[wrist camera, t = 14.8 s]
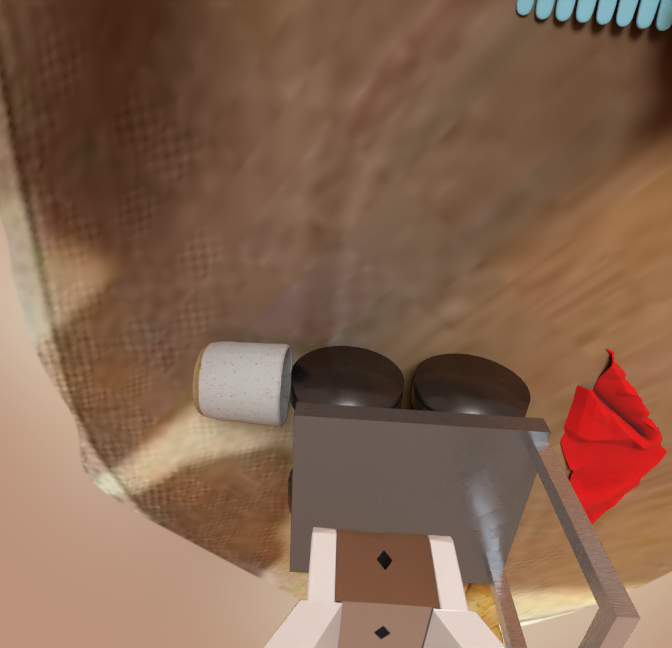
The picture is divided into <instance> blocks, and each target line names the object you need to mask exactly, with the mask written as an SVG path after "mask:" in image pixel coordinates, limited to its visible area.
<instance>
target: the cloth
mask: <svg viewBox="0 0 672 648" xmlns="http://www.w3.org/2000/svg"><path fill="white" fill-rule="evenodd" d="M606 350H607V351H608V353H609V354H610V355H611V357H612V363H611V367H610V368H609V369H607V370H606V371H605V372H604V373H603V374H602V375H601V376H600V377H599V378H598V380H597V382H596V384H595V387H594V389H593V390H589V389H586V388H584V387H581V386H577V388H576V392H575V395H574V400H573V403H572V406H571V408H570V411H569V414H568V417H567V420H566V423H565V425H564V430H565V434H564V435H563V436H562V438H561V446H562V450H563V453H564V457H565V459H566V461H567V463H568V466H569V468H570V470H573V471H572V473H571V476H570V481H569V482H570V483H571V485H572V487H573V489H574V491H575V493H576V495H577V497H578V499H579V501H580V503H581V505H582V507H583V509H584V510H585V512H586V514H587V516H588V518H589V520H590V522H591V524H592V523H594V522H595V521H596V520H597V519H598V518H599V517H600V516H601V515H602V514H603V513H604V512H605V511H607V510H609V509H610V508H612V507H613V506H615V505H616V504H617V503H618V501H619V500H620V499H621V498H622V497H623V496H624V495H625V494H626V493H628V492H629V491H630V490H632V489H633V488H635V487H636V486H637V485H639V483H640V480H641V478H642V477H643V476H644V475H645V474H646V473H648V472H649V471H650V470H651V469H652V468H653V467H655V466H656V465H657V464H658V463H659V462H660V461H661V459H662V458H663V457H664V455H665V454H666V452H667V451H666V450H665V449H664V448H663V447H662V446H661V442H662V436H661V434H660V431H659V429H658V427H656V425H655V424H654V422H653V421H652V419H649V418H647V417H648V415H649V414H650V413H649V411H648V410H647V408H646V407H645V405H644V404H643V402H642V399H641V398H640V397H639V395H638V394H637V392H636V390H635V389H634V387H633V386H631V385H630V384H629V383H628V382H627V381H626V380H625V377H626V374H625V373H624V371H623V370H622V369H621V368H620V366H619V365H618V364H617V363H615V362H614V352H612V351H611V350H609V349H606Z"/></svg>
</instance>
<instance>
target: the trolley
mask: <svg viewBox="0 0 672 648" xmlns="http://www.w3.org/2000/svg"><path fill="white" fill-rule="evenodd" d="M403 388H404V377H403V374H402V372H401V370H400V369H399V368H398V367H397V366H396V365H395V364H394V363H393V362H392V361H391V360H389V359H388V358H386V357H385V356H383V355H381V354H378V353H376V352H373V351H370V350H367V349H363V348H358V347H350V346H333V347H326V348H321V349H317V350H314V351H311V352H309V353H307V354H305V355H304V356H302V357H301V358H300V359H299V360H297V362H296V363H295V364H294V366H293V368H292V371H291V403H292V406H293V408H294V410H295V414H294V444H293V468H292V470H291V472H290V476H289V483H288V504H289V509H290V512H291V548H290V572H303V573H309V565H310V553H311V540H312V532H313V527H321V528H334V529H336V530H337V529H345V530H356V531H367V532H377V533H381V532H392V533H412V534H426V535H437V536H450V537H451V538H452V540H453V542H454V546H455V551H456V555H457V560H458V564H459V569H460V574H461V578H462V583H473V584H489V585H490V589H491V592H492V596H493V600H494V604H495V608H496V611H497V615H498V619H499V623H500V626H501V630H502V634H503V638H504V642H505V645H506V648H527V646H526V642H525V639H524V636H523V633H522V629H521V626H520V622H519V619H518V616H517V612H516V609H515V606H514V602H513V599H512V596H511V592H510V589H509V586H508V582H507V579H506V576H505V572H504V570H503V568H504V565H505V563H506V560H507V557H508V554H509V551H510V548H511V545H512V542H513V540H514V537H515V534H516V531H517V528H518V525H519V522H520V520H521V517H522V514H523V511H524V508H525V505H526V502H527V500H528V497H529V494H530V491H531V488H532V485H533V482H534V479H535V477H536V474H537V472H538V474H539V476H540V478H541V481H542V483H543V485H544V487H545V489H546V492H547V494H548V496H549V498H550V500H551V503H552V505H553V507H554V509H555V511H556V514H557V516H558V518H559V520H560V522H561V525H562V527H563V529H564V531H565V533H566V536H567V538H568V540H569V542H570V545H571V547H572V549H573V551H574V553H575V556H576V558H577V560H578V562H579V564H580V567H581V569H582V571H583V573H584V575H585V578H586V580H587V582H588V584H589V586H590V589H591V591H592V593H593V595H594V598H595V600H596V602H597V604H598V606H599V609H598V612H597V613H596V615H595V617H594V619H593V621H592V623H591V625H590V627H589V629H588V631H587V633H586V635H585V636H584V638H583V640H582V642H581V644H580V646H579V648H623V646H624V644H625V643H626V642H627V640H628V638H629V637H630V634H631V633H632V632H633V630H634V628H635V626H636V625H637V623H638V621H639V620H640V617H639V615H638V613H637V611H636V609H635V607H634V605H633V603H632V601H631V599H630V598H629V595H628V593H627V592H626V590H625V588H624V586H623V584H622V582H621V580H620V578H619V576H618V574H617V572H616V570H615V568H614V566H613V565H612V563H611V561H610V559H609V557H608V555H607V553H606V551H605V549H604V547H603V545H602V543H601V541H600V539H599V538H598V536H597V534H596V532H595V530H594V528H593V526H592V524H591V522H590V520H589V518H588V516H587V514H586V512H585V510H584V509H583V507H582V505H581V503H580V501H579V499H578V497H577V495H576V493H575V491H574V489H573V487H572V485H571V483H570V482H569V480H568V478H567V476H566V474H565V472H564V470H563V468H562V466H561V464H560V462H559V460H558V458H557V456H556V455H555V453H554V451H553V449H552V447H551V445H550V443H549V442H548V439H549V436H550V434H551V432H550V430H549V428H548V426H547V424H546V422H545V421H544V419H542V418H527V417H525V415H526V412H527V409H528V406H529V402H530V392H529V390H528V387H527V386H526V384H525V383H524V382H523V381H522V379H521V378H520V377H518V376H517V375H516V374H515V373H514V372H512V371H511V370H509V369H508V368H506V367H504V366H502V365H500V364H498V363H496V362H493V361H491V360H488V359H485V358H481V357H477V356H472V355H466V354H443V355H438V356H434V357H431V358H429V359H426V360H425V361H423V362H422V363H421V364H420V365H419V366H418V367H417V369H416V372H415V378H414V384H413V390H412V396H411V401H412V405H413V407H414V410H407V409H400V407H401V401H402V394H403Z"/></svg>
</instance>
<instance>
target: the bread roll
mask: <svg viewBox="0 0 672 648" xmlns="http://www.w3.org/2000/svg"><path fill="white" fill-rule="evenodd" d="M463 587H464V592H465V597H466V601H467V606H468V610H469V611H475V612H477V614H478V615H479V616H480V617H481V618H482V620H483V621H484V622H485V623H486V624H487V626H488V627H489V628H490V629H491V630H492V632H493V633H494V634H495V635H496V636H497V638H498V639H499V640H500V641H501V642H502V644H503V639H502V635H501V632H500V628H499V626H498V625H499V619H498V615H497V611H496V608H495V604H494V600H493V596H492V592H491V589H490V585H489V584H473V583H463Z"/></svg>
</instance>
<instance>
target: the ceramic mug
mask: <svg viewBox="0 0 672 648" xmlns="http://www.w3.org/2000/svg"><path fill="white" fill-rule="evenodd" d="M291 371H292V352H291V348H290V346H289V345H288V344H271V343H249V342H230V341H222V342H214V343H209V344H207V345H206V346H205V347H204V348H203V349H202V350H201V352H200V353H199V356H198V358H197V361H196V365H195V368H194V375H193V386H192V387H193V400H194V404H195V407H196V409H197V411H198V412H199V413H200V414H202V415H204V416H206V417H210V418H214V419H218V420H227V421H239V422H247V423H254V424H262V425H269V426H282V425H283V424H284V422H285V420H286V416H287V411H288V405H289V399H290V391H291Z"/></svg>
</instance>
